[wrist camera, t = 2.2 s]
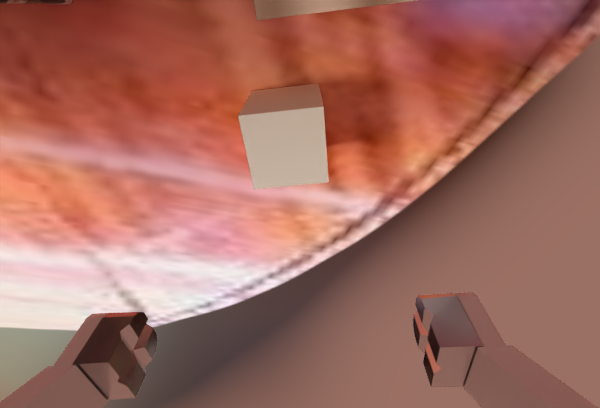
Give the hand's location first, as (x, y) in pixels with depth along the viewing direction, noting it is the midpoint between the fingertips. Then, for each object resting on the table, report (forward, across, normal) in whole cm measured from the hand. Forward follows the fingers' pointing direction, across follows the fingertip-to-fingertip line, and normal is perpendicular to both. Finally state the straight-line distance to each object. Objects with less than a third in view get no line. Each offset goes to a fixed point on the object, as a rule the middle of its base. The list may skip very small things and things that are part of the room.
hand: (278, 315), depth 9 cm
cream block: (+18, 0, 0) cm, 18 cm away
